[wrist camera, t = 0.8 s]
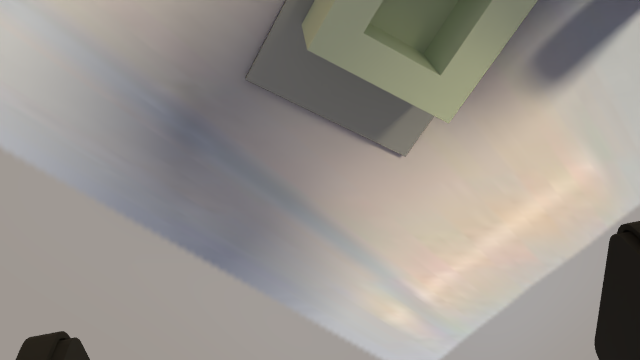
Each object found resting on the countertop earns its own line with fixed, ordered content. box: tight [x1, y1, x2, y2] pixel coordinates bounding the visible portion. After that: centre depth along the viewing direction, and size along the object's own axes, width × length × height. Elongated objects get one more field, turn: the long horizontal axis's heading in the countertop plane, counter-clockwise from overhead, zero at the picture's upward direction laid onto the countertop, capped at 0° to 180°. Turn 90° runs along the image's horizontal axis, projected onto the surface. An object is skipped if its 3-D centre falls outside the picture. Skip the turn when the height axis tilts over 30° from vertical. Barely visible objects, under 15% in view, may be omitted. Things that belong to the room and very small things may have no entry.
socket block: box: [301, 0, 538, 123], centre depth 34 cm, size 10×10×5 cm
